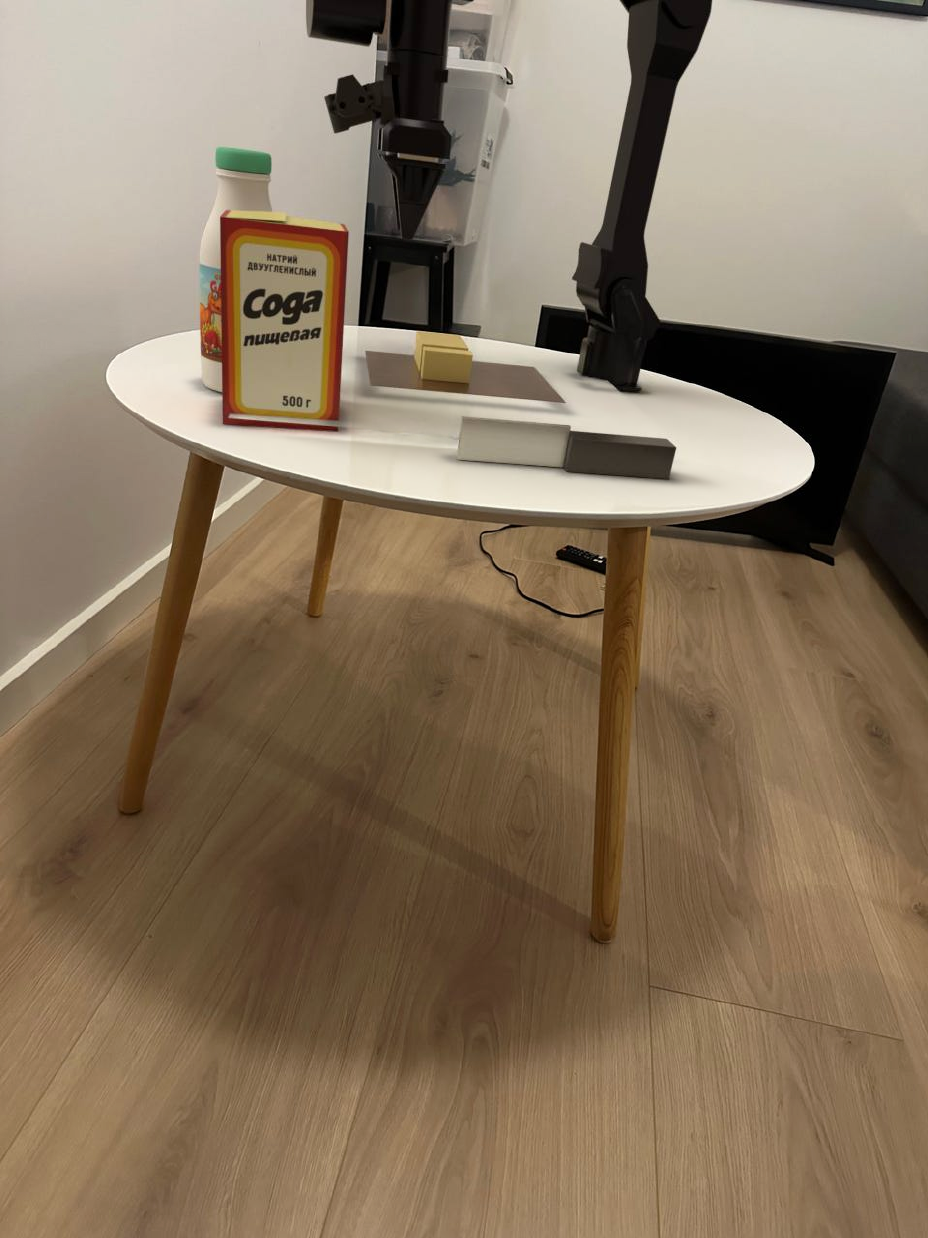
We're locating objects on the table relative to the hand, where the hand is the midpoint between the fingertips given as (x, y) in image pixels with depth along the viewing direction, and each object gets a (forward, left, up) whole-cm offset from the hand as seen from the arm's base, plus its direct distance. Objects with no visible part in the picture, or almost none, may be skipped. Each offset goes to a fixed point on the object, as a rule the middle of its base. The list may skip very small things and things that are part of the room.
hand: (404, 234), depth 88 cm
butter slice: (-5, +6, -13) cm, 15 cm away
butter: (-5, 0, -13) cm, 14 cm away
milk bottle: (+15, +12, -14) cm, 24 cm away
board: (-7, +3, -14) cm, 16 cm away
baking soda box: (+11, +21, -14) cm, 28 cm away
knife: (-12, +29, -14) cm, 35 cm away
